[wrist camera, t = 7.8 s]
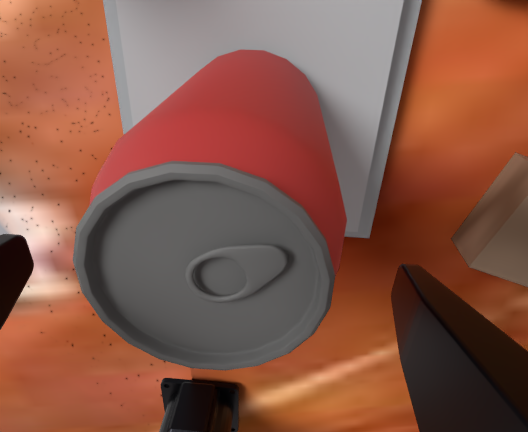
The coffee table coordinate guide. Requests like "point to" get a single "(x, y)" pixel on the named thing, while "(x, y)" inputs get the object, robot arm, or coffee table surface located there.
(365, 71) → the stand
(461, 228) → the metal block
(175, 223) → the beer can
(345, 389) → the coffee table surface
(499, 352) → the robot arm
